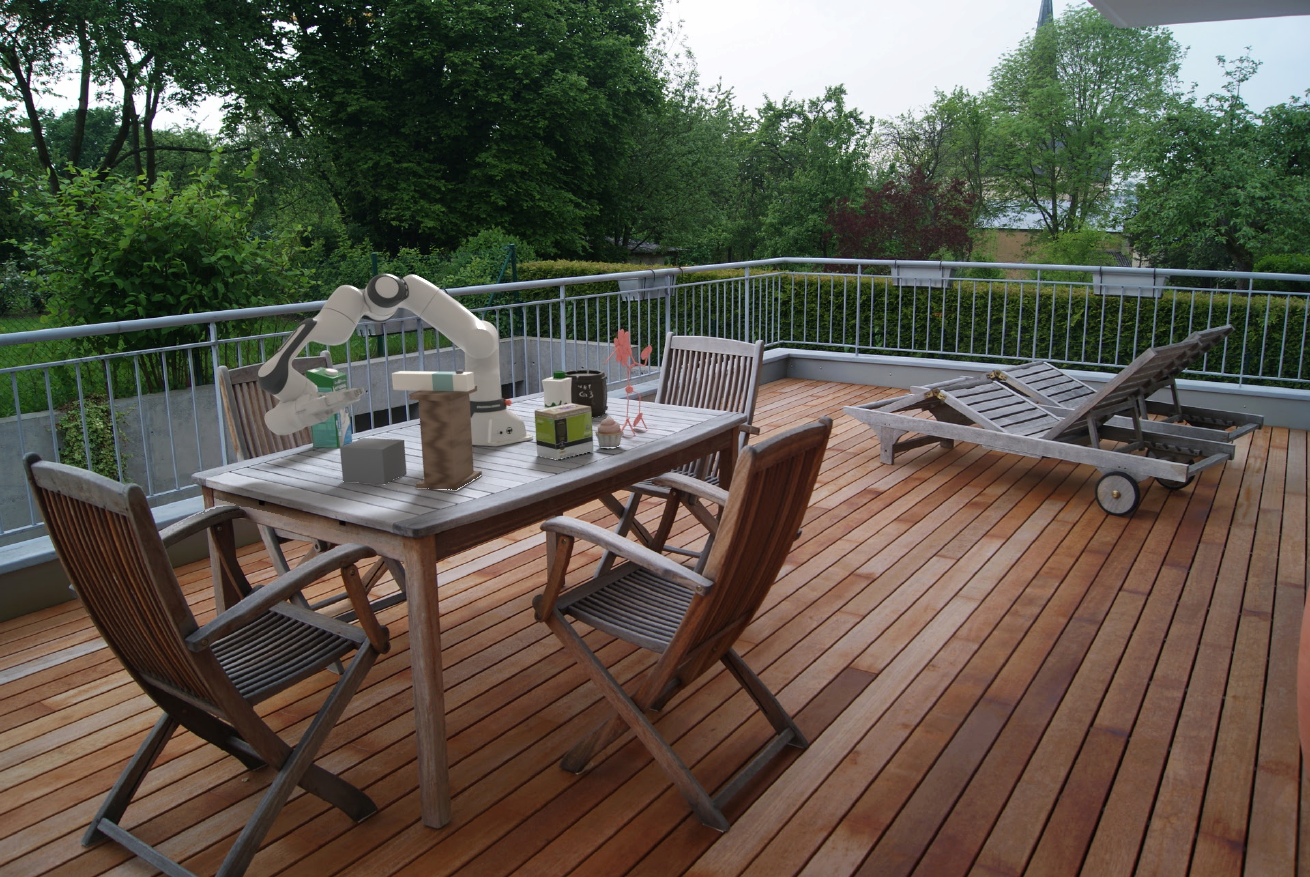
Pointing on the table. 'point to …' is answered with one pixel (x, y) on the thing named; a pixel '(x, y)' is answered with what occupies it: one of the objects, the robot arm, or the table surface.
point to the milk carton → (338, 425)
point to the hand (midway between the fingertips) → (353, 393)
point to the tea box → (563, 431)
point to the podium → (373, 460)
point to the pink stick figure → (622, 355)
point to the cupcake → (609, 433)
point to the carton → (433, 380)
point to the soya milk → (557, 390)
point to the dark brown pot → (589, 390)
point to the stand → (446, 439)
